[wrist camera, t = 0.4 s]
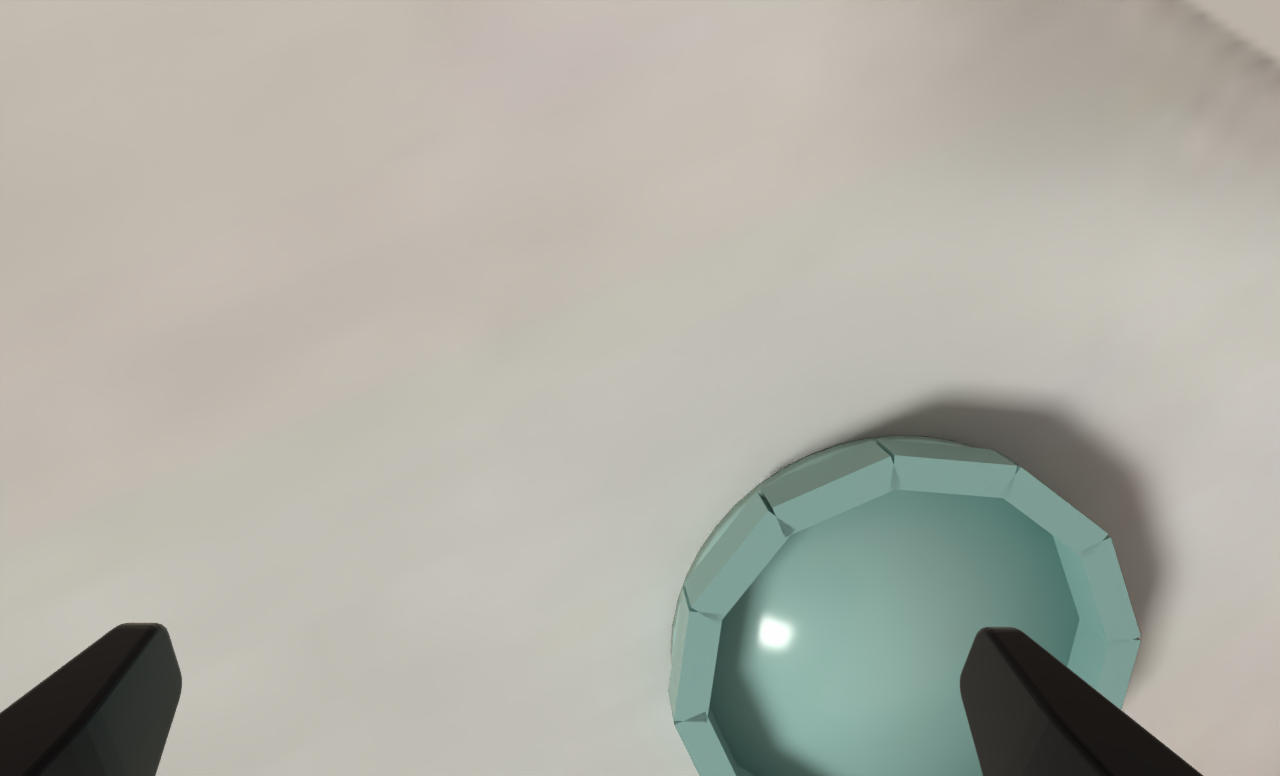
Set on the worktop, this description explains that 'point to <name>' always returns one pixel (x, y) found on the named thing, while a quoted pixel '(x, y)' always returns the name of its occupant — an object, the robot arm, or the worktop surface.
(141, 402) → the worktop surface
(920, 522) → the dish
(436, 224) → the worktop surface
